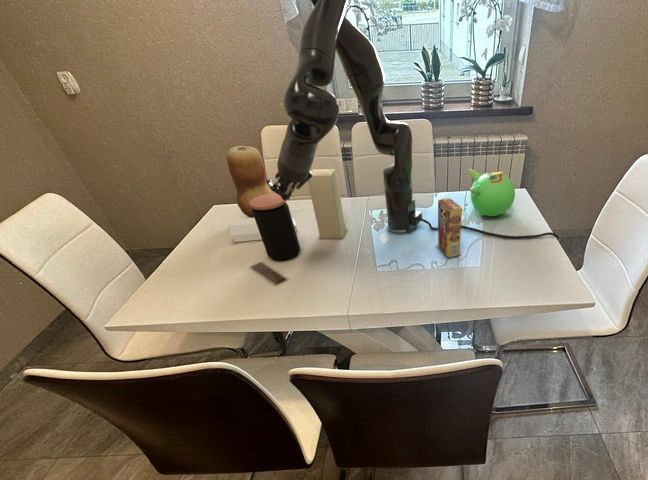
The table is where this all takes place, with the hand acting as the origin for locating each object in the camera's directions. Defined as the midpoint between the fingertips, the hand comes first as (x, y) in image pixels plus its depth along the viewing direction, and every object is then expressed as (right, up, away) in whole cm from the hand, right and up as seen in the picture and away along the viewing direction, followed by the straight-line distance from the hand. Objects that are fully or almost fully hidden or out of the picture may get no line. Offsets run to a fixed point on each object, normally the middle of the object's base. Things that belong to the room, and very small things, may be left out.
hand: (284, 197), depth 105 cm
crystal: (-18, -2, +30) cm, 35 cm away
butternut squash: (-24, +9, +43) cm, 50 cm away
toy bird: (+64, +8, +36) cm, 74 cm away
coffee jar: (-7, -11, +20) cm, 24 cm away
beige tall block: (+7, -2, +29) cm, 30 cm away
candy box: (+47, -11, +16) cm, 51 cm away
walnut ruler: (-9, -19, +11) cm, 24 cm away
